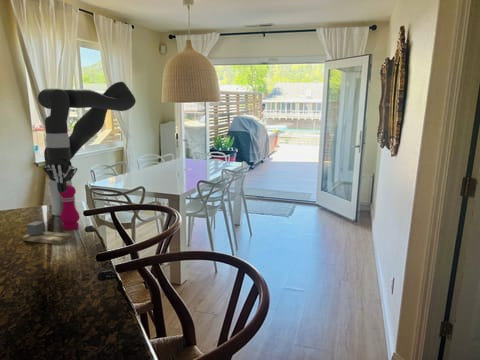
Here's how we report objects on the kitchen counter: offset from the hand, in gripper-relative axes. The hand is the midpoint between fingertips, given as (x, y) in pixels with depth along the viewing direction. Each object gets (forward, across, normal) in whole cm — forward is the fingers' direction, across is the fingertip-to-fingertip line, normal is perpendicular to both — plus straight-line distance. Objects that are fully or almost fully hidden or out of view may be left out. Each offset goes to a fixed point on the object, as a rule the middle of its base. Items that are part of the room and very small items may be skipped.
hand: (62, 192), depth 130 cm
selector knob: (+17, -13, 0) cm, 22 cm away
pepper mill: (+19, -8, +13) cm, 25 cm away
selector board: (+19, -8, 0) cm, 21 cm away
